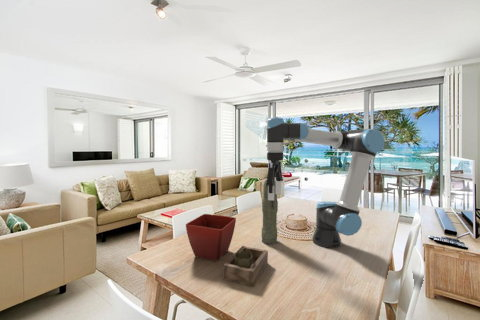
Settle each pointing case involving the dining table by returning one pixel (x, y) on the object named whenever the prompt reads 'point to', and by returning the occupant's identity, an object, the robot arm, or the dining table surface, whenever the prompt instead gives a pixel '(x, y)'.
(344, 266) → the dining table surface
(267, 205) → the thermos
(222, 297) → the dining table surface
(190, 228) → the plant pot
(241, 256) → the olive textured bell shape
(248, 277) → the walnut box
